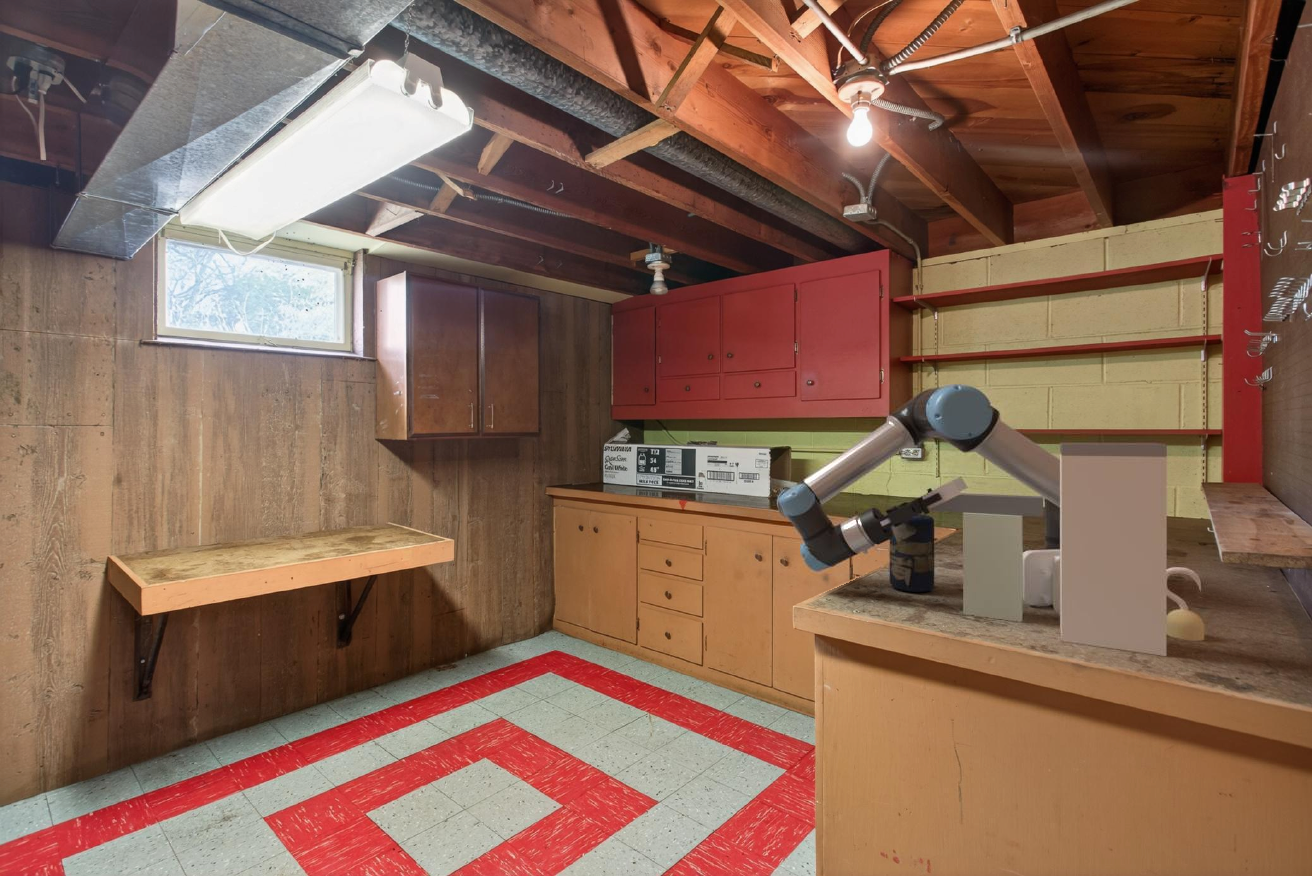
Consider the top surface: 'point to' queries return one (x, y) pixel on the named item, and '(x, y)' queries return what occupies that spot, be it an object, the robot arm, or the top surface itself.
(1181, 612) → the hook
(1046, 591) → the cable organizer
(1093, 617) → the socket tower
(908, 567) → the canister
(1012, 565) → the shelf
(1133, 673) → the top surface
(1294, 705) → the top surface
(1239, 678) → the top surface
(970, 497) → the bar
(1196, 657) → the top surface
